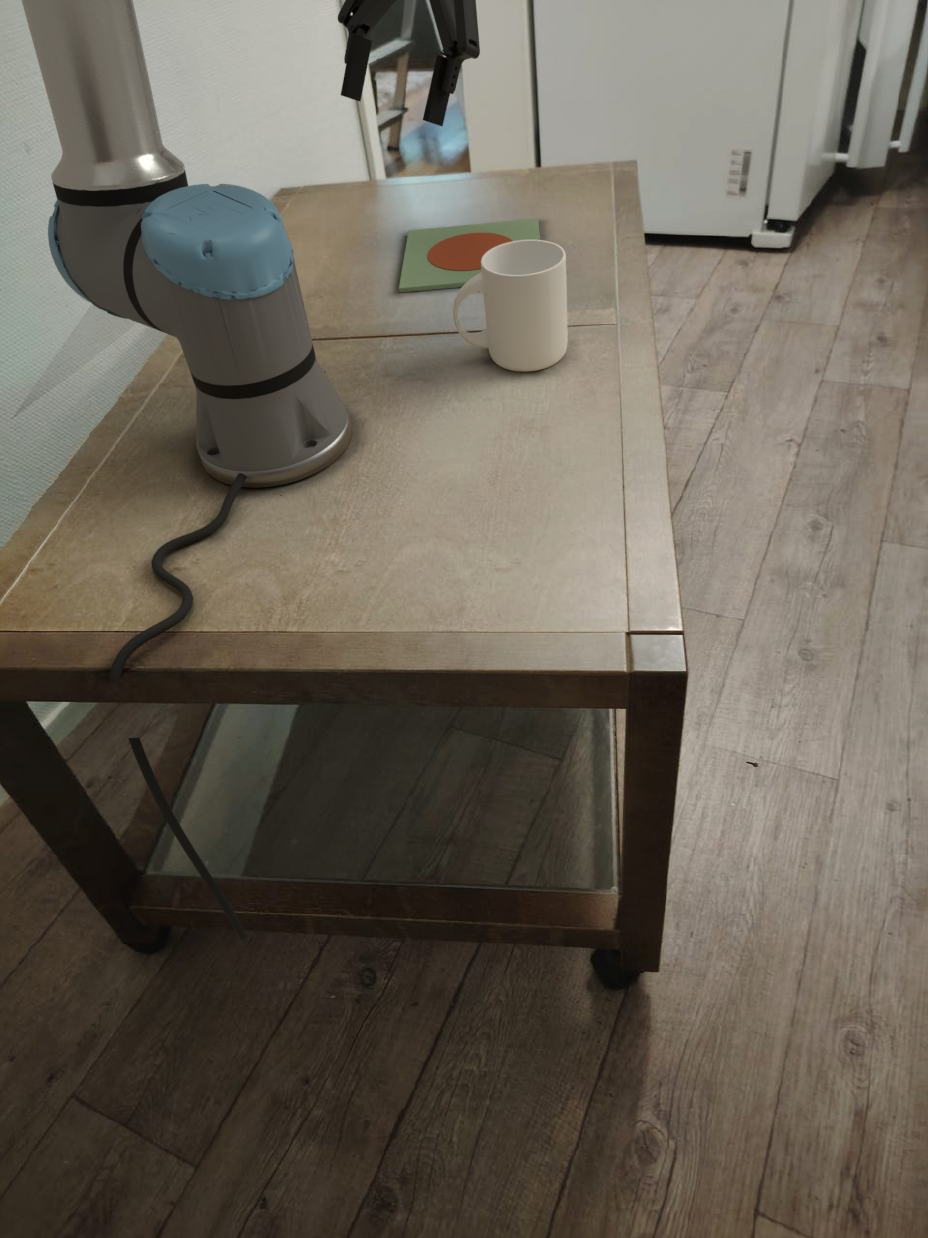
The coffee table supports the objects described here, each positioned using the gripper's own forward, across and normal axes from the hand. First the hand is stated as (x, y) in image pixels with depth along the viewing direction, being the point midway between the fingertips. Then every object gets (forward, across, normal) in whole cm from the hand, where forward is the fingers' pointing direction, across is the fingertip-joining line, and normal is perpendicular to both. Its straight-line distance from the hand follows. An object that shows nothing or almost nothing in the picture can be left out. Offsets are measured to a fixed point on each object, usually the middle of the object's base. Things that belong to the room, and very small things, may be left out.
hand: (390, 110), depth 105 cm
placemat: (+13, -8, -13) cm, 20 cm away
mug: (+20, -29, +4) cm, 35 cm away
